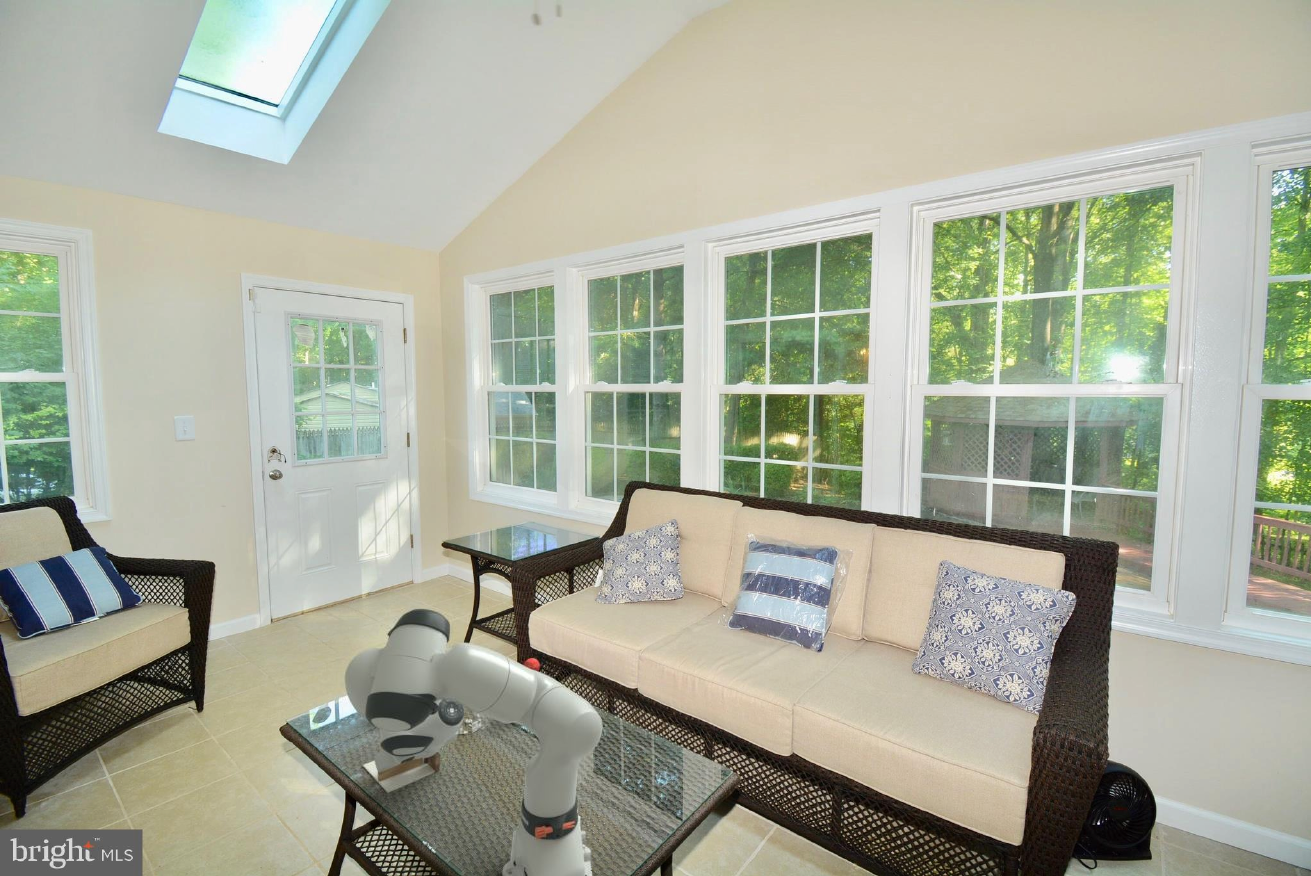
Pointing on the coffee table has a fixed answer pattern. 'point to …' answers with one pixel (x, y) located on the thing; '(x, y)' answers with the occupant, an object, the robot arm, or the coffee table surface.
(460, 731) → the white blossom branch
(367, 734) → the coffee table surface
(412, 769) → the card
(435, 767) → the fence post
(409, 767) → the fence panel
